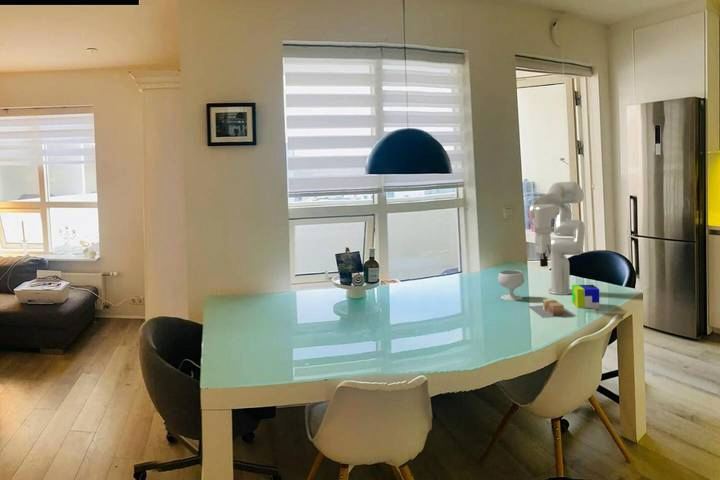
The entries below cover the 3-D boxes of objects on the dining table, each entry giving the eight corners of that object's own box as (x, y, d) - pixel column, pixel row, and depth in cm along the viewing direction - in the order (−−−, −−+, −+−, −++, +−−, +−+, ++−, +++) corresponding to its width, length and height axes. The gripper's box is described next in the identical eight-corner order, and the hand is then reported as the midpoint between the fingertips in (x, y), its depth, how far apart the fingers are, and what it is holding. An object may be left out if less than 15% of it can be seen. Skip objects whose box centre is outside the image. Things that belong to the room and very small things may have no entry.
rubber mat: (527, 307, 231) (527, 306, 231) (558, 305, 231) (558, 304, 231) (542, 319, 211) (542, 317, 211) (576, 316, 211) (576, 315, 211)
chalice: (530, 298, 248) (529, 271, 246) (514, 303, 240) (513, 276, 239) (508, 294, 260) (508, 268, 258) (493, 298, 252) (492, 272, 250)
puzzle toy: (599, 309, 221) (599, 289, 220) (577, 309, 223) (577, 289, 222) (593, 303, 231) (592, 284, 229) (572, 303, 233) (572, 285, 231)
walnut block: (542, 299, 224) (553, 306, 212) (552, 298, 224) (563, 305, 212) (543, 309, 224) (553, 316, 213) (553, 308, 224) (563, 315, 212)
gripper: (530, 229, 232) (531, 263, 234) (541, 233, 217) (542, 269, 219) (544, 228, 231) (545, 262, 234) (557, 231, 217) (557, 268, 219)
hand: (544, 266), depth 227 cm, fingers closed
